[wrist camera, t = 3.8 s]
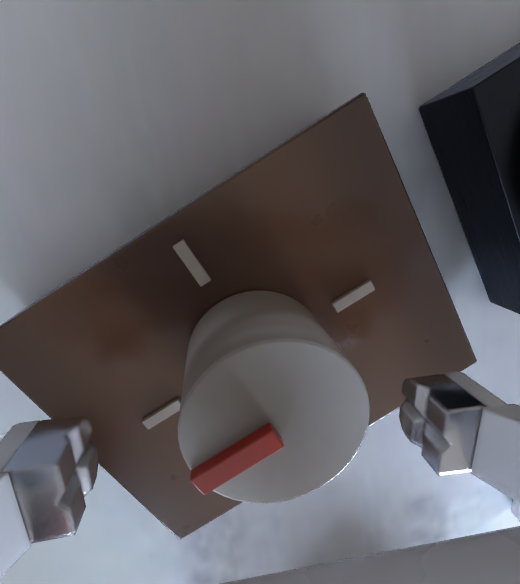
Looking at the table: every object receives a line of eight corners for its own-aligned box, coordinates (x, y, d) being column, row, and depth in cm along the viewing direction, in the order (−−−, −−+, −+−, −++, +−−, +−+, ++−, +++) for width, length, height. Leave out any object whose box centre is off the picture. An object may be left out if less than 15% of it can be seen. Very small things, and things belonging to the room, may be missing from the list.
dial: (281, 262, 10) (321, 304, 6) (344, 368, 12) (406, 451, 8) (158, 339, 10) (130, 422, 7) (235, 435, 12) (247, 545, 8)
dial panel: (328, 113, 12) (368, 88, 9) (428, 329, 15) (481, 363, 12) (25, 308, 12) (-33, 347, 9) (184, 477, 16) (178, 545, 13)
